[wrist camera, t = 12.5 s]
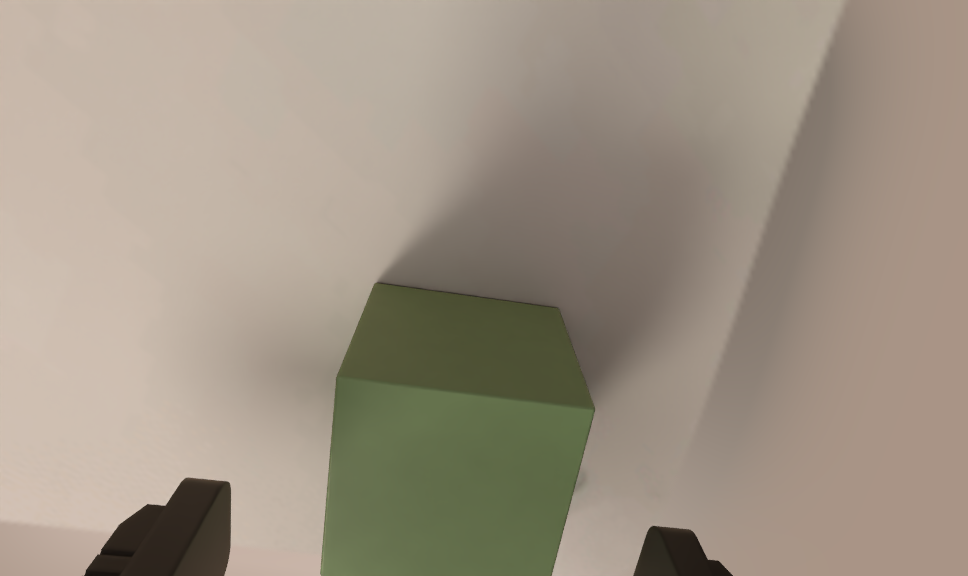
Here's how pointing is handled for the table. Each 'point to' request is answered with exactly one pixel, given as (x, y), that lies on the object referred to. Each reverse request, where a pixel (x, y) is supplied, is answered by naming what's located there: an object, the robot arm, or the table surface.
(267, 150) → the table surface
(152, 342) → the table surface
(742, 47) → the table surface
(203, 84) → the table surface
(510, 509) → the block
